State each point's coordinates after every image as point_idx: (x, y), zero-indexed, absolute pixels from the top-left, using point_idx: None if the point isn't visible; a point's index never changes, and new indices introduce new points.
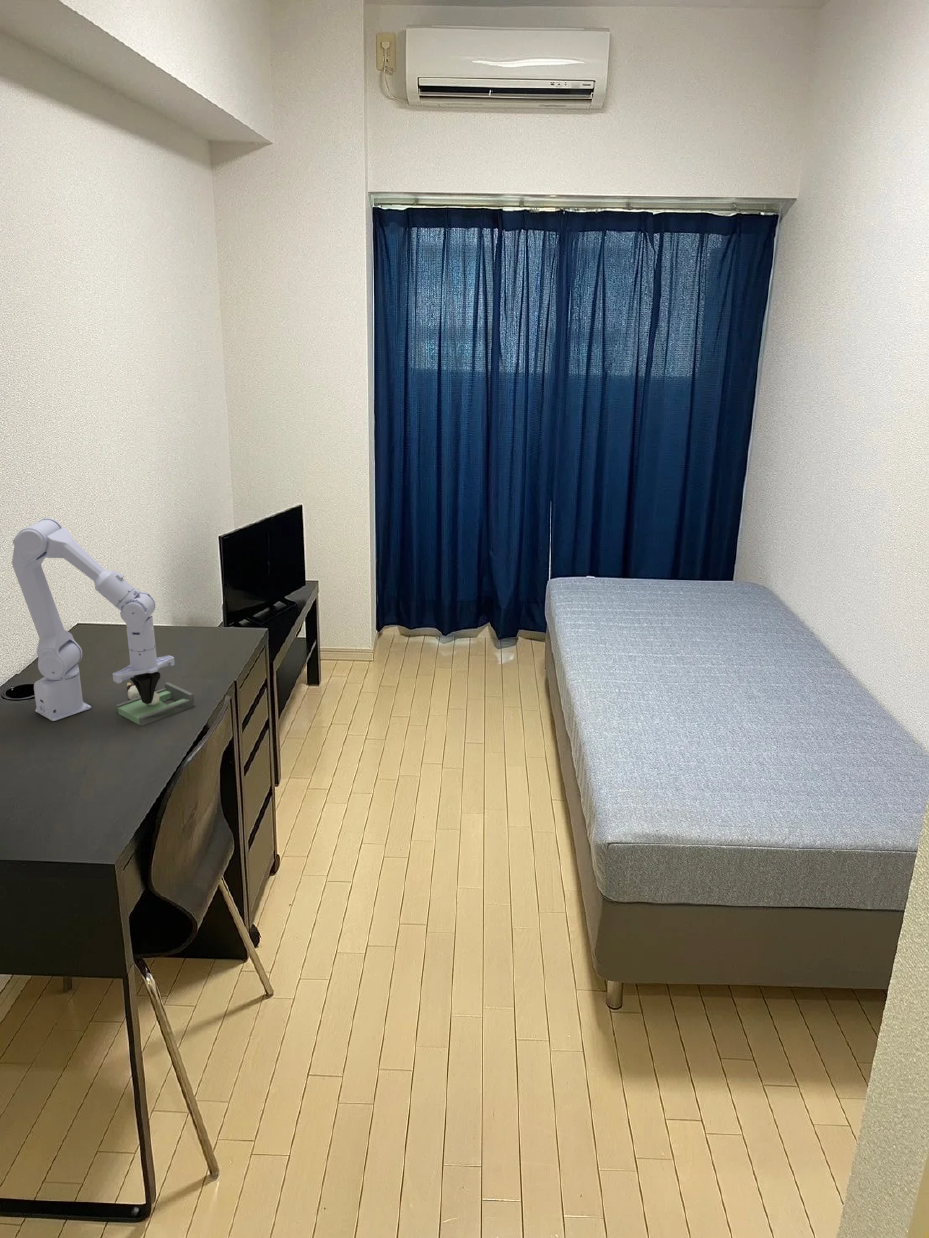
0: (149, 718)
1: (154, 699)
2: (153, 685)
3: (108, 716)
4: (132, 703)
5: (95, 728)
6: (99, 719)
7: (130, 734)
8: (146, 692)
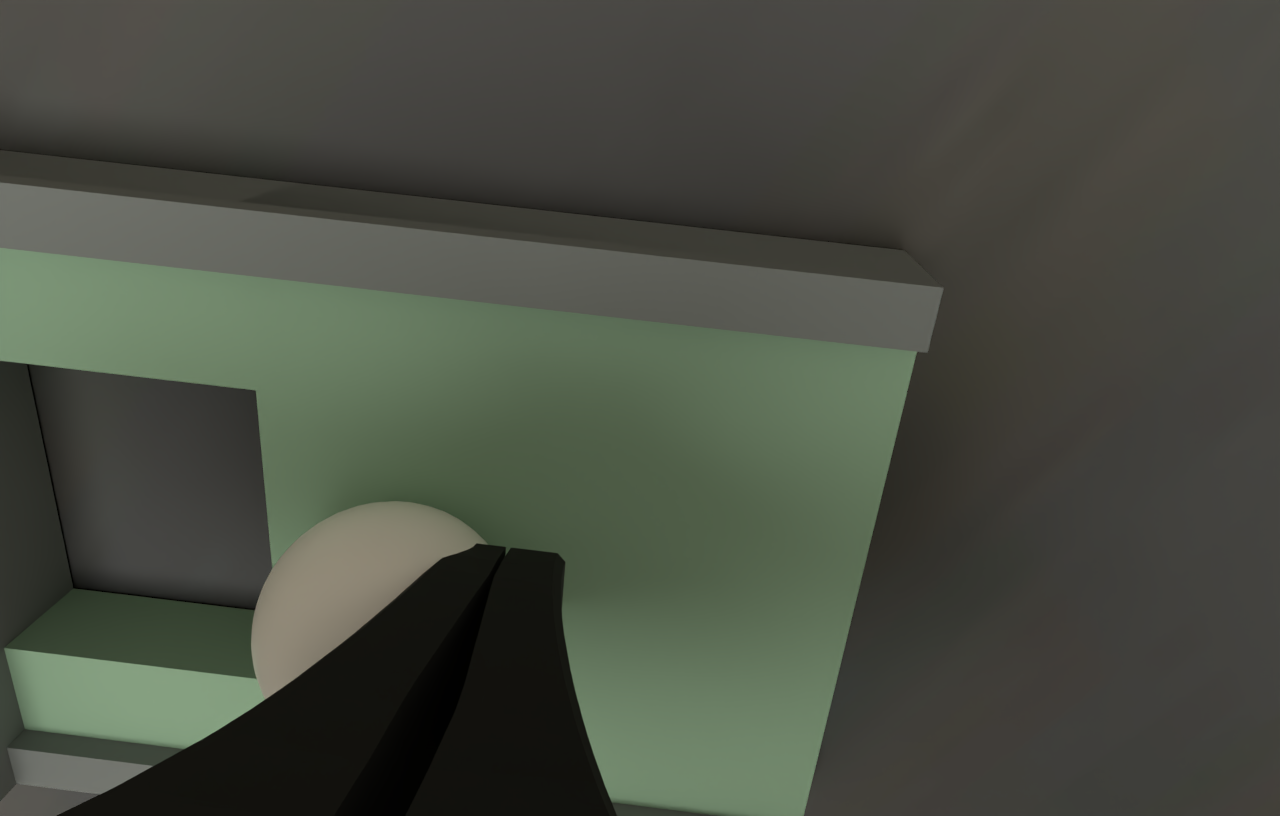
0: (758, 254)
1: (407, 546)
2: (273, 774)
3: (901, 788)
4: None
5: (1253, 683)
6: (1018, 806)
7: (1226, 161)
8: (543, 706)
